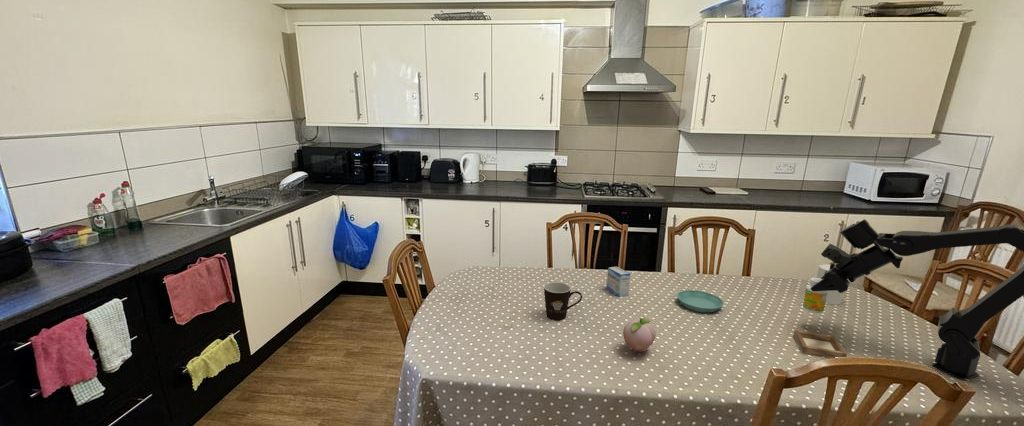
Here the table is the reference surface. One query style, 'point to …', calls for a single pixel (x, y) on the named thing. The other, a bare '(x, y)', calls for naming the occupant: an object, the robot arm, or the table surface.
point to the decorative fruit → (639, 334)
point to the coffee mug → (558, 300)
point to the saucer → (700, 301)
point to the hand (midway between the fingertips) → (813, 287)
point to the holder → (819, 344)
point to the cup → (832, 296)
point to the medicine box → (618, 281)
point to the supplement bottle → (814, 298)
